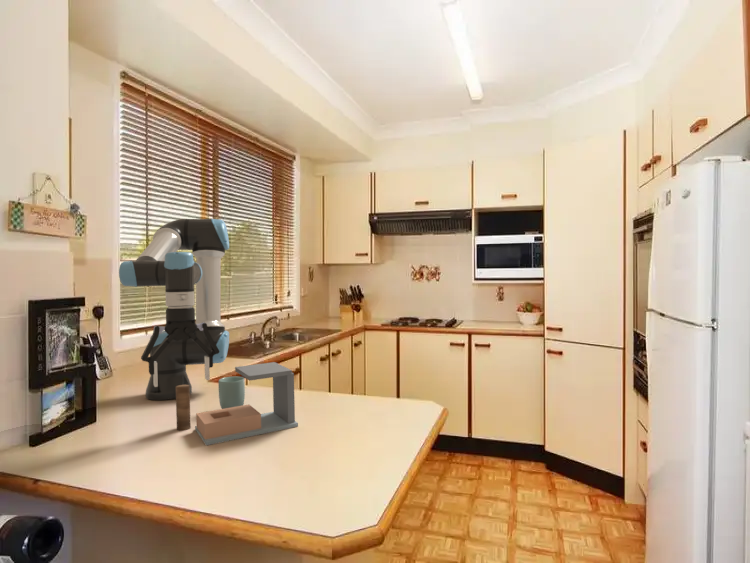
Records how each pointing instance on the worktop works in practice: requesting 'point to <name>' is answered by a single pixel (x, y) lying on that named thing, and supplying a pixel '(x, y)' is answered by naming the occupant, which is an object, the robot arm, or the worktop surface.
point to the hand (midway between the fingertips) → (182, 382)
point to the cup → (231, 391)
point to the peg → (183, 407)
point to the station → (252, 409)
